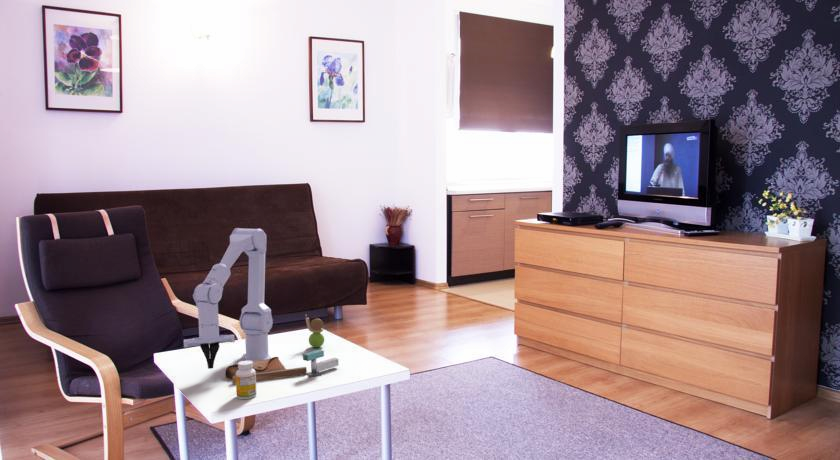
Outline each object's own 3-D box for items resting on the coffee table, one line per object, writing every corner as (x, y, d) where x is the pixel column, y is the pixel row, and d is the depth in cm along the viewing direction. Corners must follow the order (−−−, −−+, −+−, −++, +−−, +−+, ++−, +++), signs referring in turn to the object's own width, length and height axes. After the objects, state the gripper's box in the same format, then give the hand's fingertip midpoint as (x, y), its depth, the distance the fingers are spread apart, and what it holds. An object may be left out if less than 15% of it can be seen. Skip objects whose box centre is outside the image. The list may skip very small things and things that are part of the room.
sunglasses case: (236, 383, 198) (231, 362, 200) (228, 390, 203) (223, 369, 205) (291, 371, 209) (285, 351, 211) (282, 377, 214) (276, 358, 216)
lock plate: (306, 373, 206) (306, 372, 206) (318, 372, 208) (318, 371, 208) (309, 377, 203) (309, 376, 203) (321, 375, 204) (321, 374, 204)
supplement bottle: (238, 393, 189) (237, 360, 188) (257, 392, 190) (256, 359, 189) (235, 400, 184) (233, 365, 183) (254, 399, 184) (253, 365, 183)
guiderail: (232, 382, 198) (232, 376, 198) (305, 373, 207) (305, 366, 207) (233, 384, 197) (233, 377, 197) (306, 374, 206) (306, 367, 206)
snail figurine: (306, 345, 238) (305, 312, 237) (324, 345, 239) (323, 312, 238) (305, 349, 233) (304, 316, 232) (324, 349, 234) (323, 315, 233)
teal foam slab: (334, 364, 213) (333, 345, 212) (338, 366, 212) (338, 346, 211) (303, 374, 204) (302, 354, 203) (308, 375, 202) (307, 355, 202)
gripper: (184, 328, 194) (186, 374, 195) (235, 323, 200) (237, 368, 201) (182, 323, 200) (184, 367, 202) (232, 319, 206) (233, 361, 207)
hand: (210, 367), depth 202 cm, fingers closed
